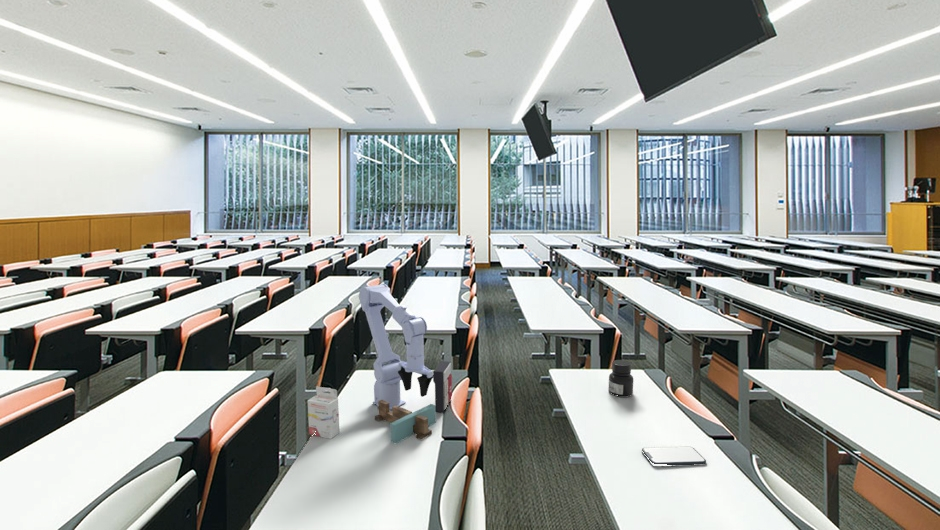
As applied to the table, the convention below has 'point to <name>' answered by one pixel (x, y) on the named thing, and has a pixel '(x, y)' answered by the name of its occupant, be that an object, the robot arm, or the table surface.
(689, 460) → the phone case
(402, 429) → the teal plate
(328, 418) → the ink cartridge box
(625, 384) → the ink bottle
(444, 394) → the dark grey box
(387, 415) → the walnut stand
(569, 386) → the table surface
